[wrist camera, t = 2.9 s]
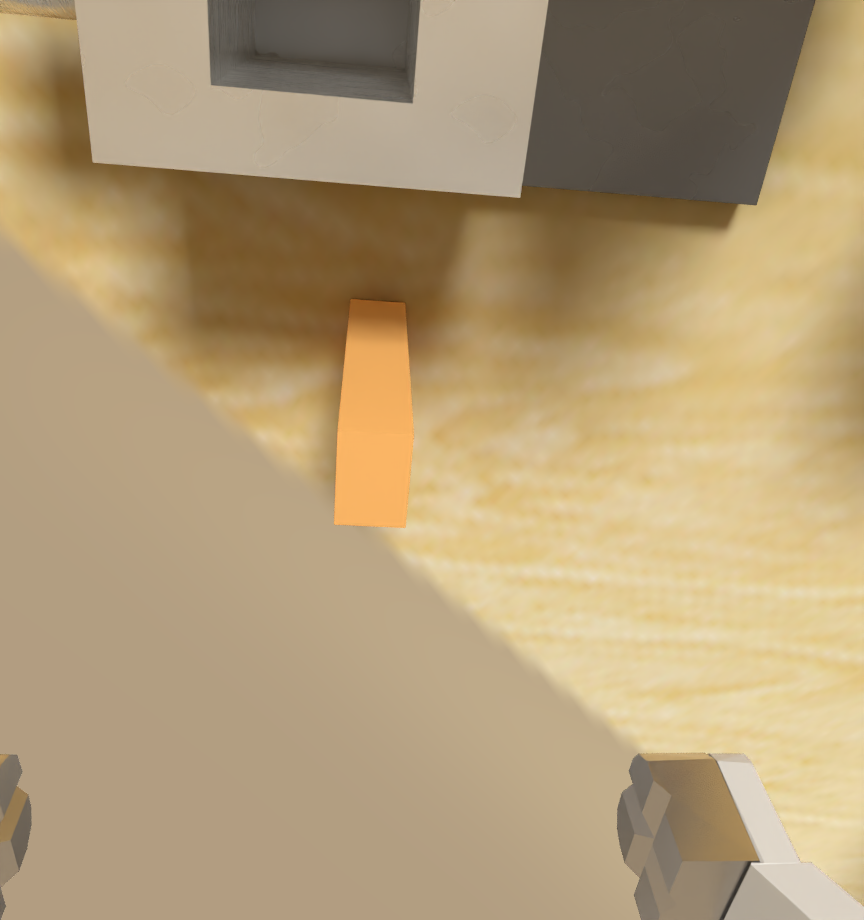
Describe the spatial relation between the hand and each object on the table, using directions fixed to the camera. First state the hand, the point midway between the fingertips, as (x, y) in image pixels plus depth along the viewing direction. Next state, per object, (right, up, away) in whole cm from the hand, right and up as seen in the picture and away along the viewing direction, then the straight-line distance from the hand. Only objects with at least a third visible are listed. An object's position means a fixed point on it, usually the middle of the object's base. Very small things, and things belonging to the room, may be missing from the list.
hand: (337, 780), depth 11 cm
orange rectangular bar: (0, +8, +14) cm, 16 cm away
